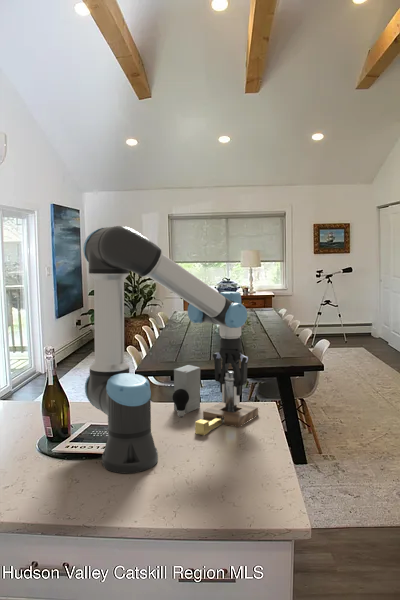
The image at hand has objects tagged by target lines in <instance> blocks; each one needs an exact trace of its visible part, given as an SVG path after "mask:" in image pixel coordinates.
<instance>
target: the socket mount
mask: <svg viewBox="0 0 400 600" xmlns="http://www.w3.org/2000/svg"><path fill="white" fill-rule="evenodd" d="M257 415H258V416H259V407H258V406H255V405H254V406H253V405H247V404H244V403H243V404H242V403H239V404H237V412H235V413H231V412H226V411H225V403H222V401H221V402H219V403H216V404H215V405H213V406H211V407H209V408H206V409H205V410H203V411H202V420H206V421H209V422H210V421H212V420H214V419H215V418H221V419H222V420H223V425H226V426H230V427H235V428H241V425H242V426H243V425H245V424H246V422H247V421H248V422H249V420H250V419H252V418H253V419H255V418H256V417H258V416H257ZM255 416H256V417H255ZM254 417H255V418H254ZM253 419H252V420H253ZM250 421H251V420H250ZM248 422H247V423H248ZM244 423H245V424H244Z"/></svg>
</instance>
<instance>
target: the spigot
mask: <svg viewBox="0 0 400 600" xmlns="http://www.w3.org/2000/svg"><path fill="white" fill-rule="evenodd" d="M224 380H225V411H226V412H231V413H235V412H237V405H234V386H235V385H236V383H235V378H234V372H233V370H228V371H226V372H225V376H224Z"/></svg>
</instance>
